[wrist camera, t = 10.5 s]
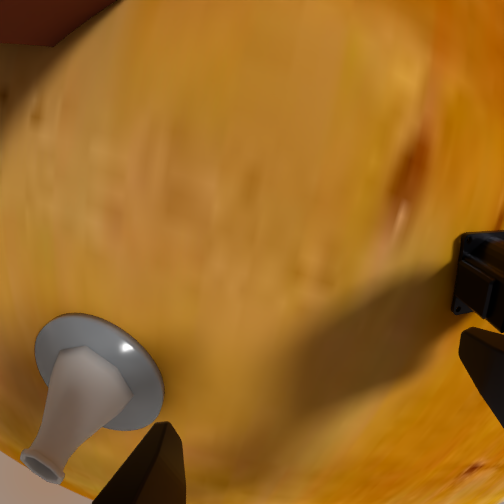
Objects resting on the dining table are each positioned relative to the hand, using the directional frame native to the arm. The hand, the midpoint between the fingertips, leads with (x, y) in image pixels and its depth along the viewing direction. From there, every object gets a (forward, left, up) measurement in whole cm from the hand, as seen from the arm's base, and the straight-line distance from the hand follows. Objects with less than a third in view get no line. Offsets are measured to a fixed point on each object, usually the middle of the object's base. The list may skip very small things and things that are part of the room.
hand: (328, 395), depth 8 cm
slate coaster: (+16, +9, -12) cm, 22 cm away
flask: (+16, +9, -12) cm, 22 cm away
